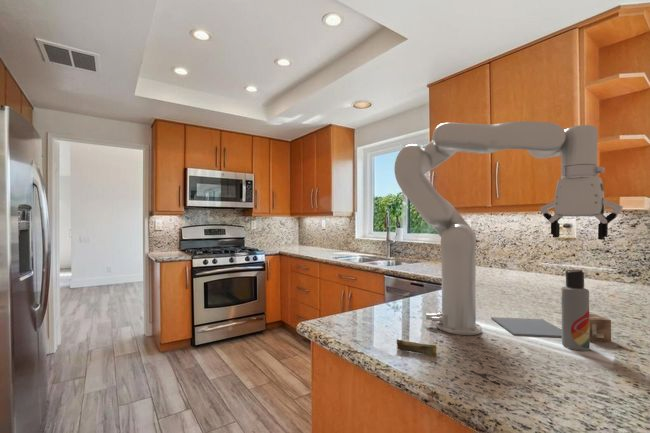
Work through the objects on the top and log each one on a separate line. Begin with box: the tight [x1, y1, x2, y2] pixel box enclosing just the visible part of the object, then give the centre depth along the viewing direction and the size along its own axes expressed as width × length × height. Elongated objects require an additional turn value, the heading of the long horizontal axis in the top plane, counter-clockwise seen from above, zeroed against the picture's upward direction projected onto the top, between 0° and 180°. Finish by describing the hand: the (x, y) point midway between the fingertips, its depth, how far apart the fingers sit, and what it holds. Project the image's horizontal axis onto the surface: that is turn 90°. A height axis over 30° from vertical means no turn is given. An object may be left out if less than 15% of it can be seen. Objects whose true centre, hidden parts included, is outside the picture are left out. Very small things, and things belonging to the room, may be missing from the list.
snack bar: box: [395, 338, 437, 357], centre depth 78 cm, size 10×2×3 cm, turn 65°
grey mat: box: [490, 316, 562, 338], centre depth 99 cm, size 16×16×1 cm
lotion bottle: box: [560, 269, 591, 352], centre depth 83 cm, size 6×6×20 cm
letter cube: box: [589, 313, 612, 343], centre depth 90 cm, size 6×6×6 cm
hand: (577, 238), depth 85 cm, fingers open, 9 cm apart
